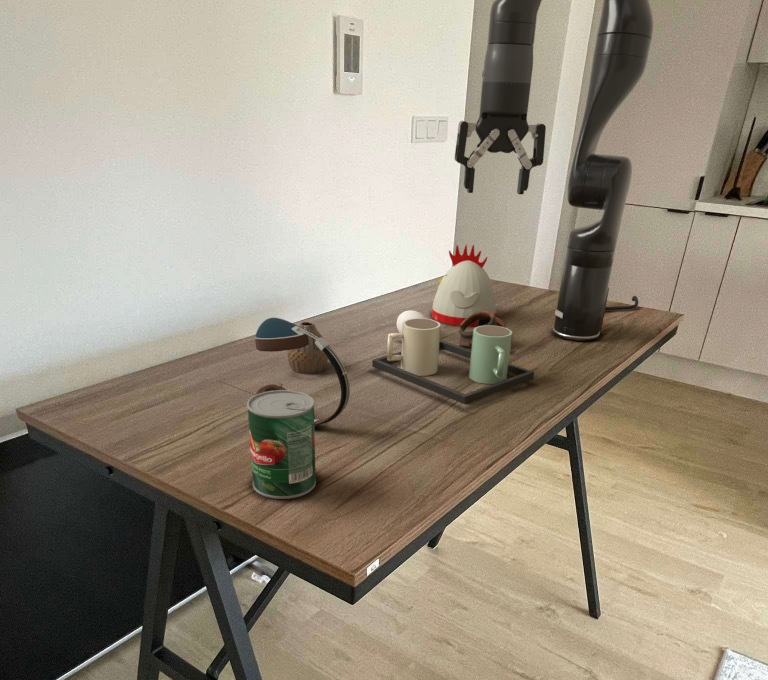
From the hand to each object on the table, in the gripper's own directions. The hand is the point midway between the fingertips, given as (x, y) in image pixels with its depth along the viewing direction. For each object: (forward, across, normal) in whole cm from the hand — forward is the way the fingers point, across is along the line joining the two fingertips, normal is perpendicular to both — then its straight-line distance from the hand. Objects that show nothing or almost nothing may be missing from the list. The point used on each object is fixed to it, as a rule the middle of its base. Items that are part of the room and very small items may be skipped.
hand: (495, 193), depth 118 cm
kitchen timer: (+28, +1, +26) cm, 38 cm away
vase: (+28, -32, -11) cm, 44 cm away
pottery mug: (+28, +2, +4) cm, 29 cm away
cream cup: (+27, -14, -11) cm, 32 cm away
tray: (+28, -7, -12) cm, 31 cm away
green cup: (+27, -1, -16) cm, 31 cm away
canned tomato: (+28, -33, -50) cm, 66 cm away
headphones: (+28, -35, -30) cm, 54 cm away
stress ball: (+28, -11, +9) cm, 32 cm away
